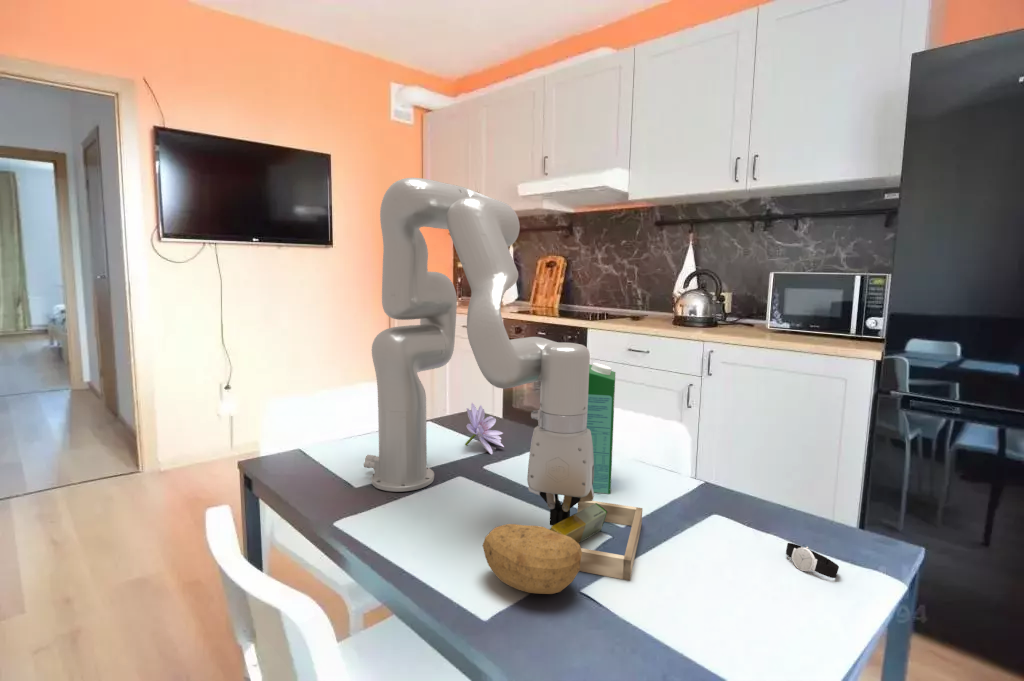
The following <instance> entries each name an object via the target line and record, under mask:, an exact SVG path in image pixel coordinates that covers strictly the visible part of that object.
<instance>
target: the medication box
mask: <svg viewBox="0 0 1024 681" xmlns="http://www.w3.org/2000/svg"><path fill="white" fill-rule="evenodd" d="M577 512H578V511H577ZM577 512H576V513H573V514H572V515H570V517H568V518H566V519H564V520H562V521H560V522H558V523H557V524H555V525H550V529H549V530H551V531H554V532H557V533H560V534H563V535H566V536H569V537H571V538H572V539H574V540H575V541H576V542H577V543H578V544H580V543H581V542H583V541H585V540H587V539H589V538H590V537H592V536H594V535H595V534H597V533H599V532H600V531H602V528H603V527H604V524H605V518H606V515H607V512H608V511H607V510H606V509H604V508H603V507H602V506H600V505H599V504H597V503H595V504H593V505H591V506H589V507H587V508H585V509H583V510H582V511H580V512H578V513H577Z"/></svg>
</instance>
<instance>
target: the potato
mask: <svg viewBox="0 0 1024 681" xmlns="http://www.w3.org/2000/svg"><path fill="white" fill-rule="evenodd" d="M482 548H483V553H484V557H485V559H486V562H487V565H488V567H489V568H490V570H491V571H492V573H493V574H494V575H495V576H496V577H497V578H498V579H499V580H500V581H501V582H502V583H504V584H506V585H508V586H509V587H511V588H514V589H515V590H518V591H521V592H525V593H529V594H540V595H541V594H542V595H553V594H556V593H561V592H562V591H563V590H564V589H566V588H567V587H568V586H569V585H570V584H571V583H573V581H574V579H575V578H576V577H577V575H578V574H579V572H580V571H579V570H580V561H581V557H582V550H581V548H582V547H581V545H580V543H577V542H576V541H575V540H574V539H572V538H571V537H569V536H566V535H563V534H560V533H557V532H554V531H551V530H550V529H549V528H547V527H545V526H540V525H524V524H516V523H507V524H503V525H499V526H495V527H494V528H493V529H492V530H491V531H489V533H488V534H487V535H486V536H485V537H484V540H483V543H482Z"/></svg>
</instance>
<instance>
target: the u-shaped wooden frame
mask: <svg viewBox="0 0 1024 681" xmlns="http://www.w3.org/2000/svg"><path fill="white" fill-rule="evenodd" d="M595 503H597V504H599V505H600V506H602V507H603V508H604V509H606V510H607V511H608V512H607V515H606V518H605V521H604V523H612V524H618V525H625V526H631V528H630V532H629V536H628V540H627V544H626V548H625V553H624V555H622V554H617V553H611V552H606V551H601V550H600V551H599V550H594V549H590V548H583V547H581V550H582V557H581V561H580V570H579V572H583V573H588V574H594V575H599V576H604V577H609V578H614V579H620V580H625V581H629V582H630V581H631V577H632V572H633V567H634V563H635V559H636V553H637V549H638V544H639V540H640V534H641V531H642V524H643V507H639V506H638V507H637V506H631V505H624V504H617V503H610V502H603V501H597V500H592V501H587V502H578V503H577V512H576V513H578V512H580V511H582V510H583V509H585V508H587V507H589V506H591V505H593V504H595Z"/></svg>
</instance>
